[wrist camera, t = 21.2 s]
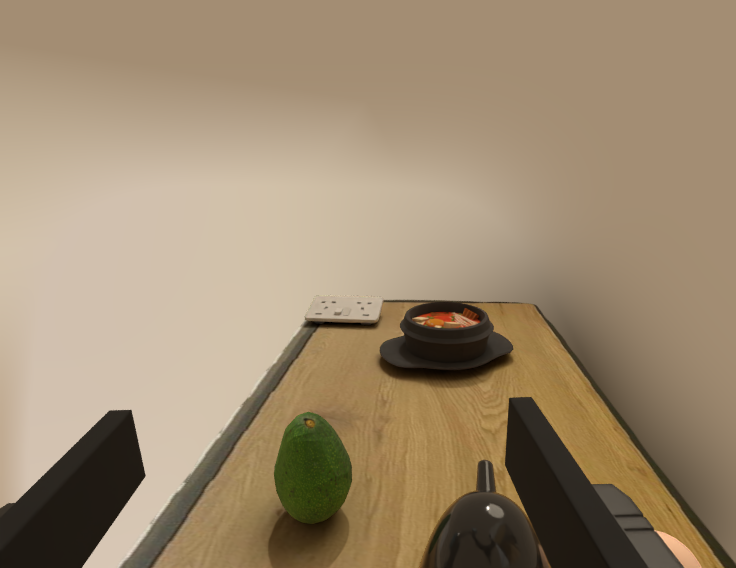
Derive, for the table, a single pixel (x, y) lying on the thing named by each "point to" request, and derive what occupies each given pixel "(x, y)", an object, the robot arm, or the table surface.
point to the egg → (680, 551)
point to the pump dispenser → (484, 531)
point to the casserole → (445, 338)
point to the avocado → (312, 469)
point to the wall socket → (345, 309)
